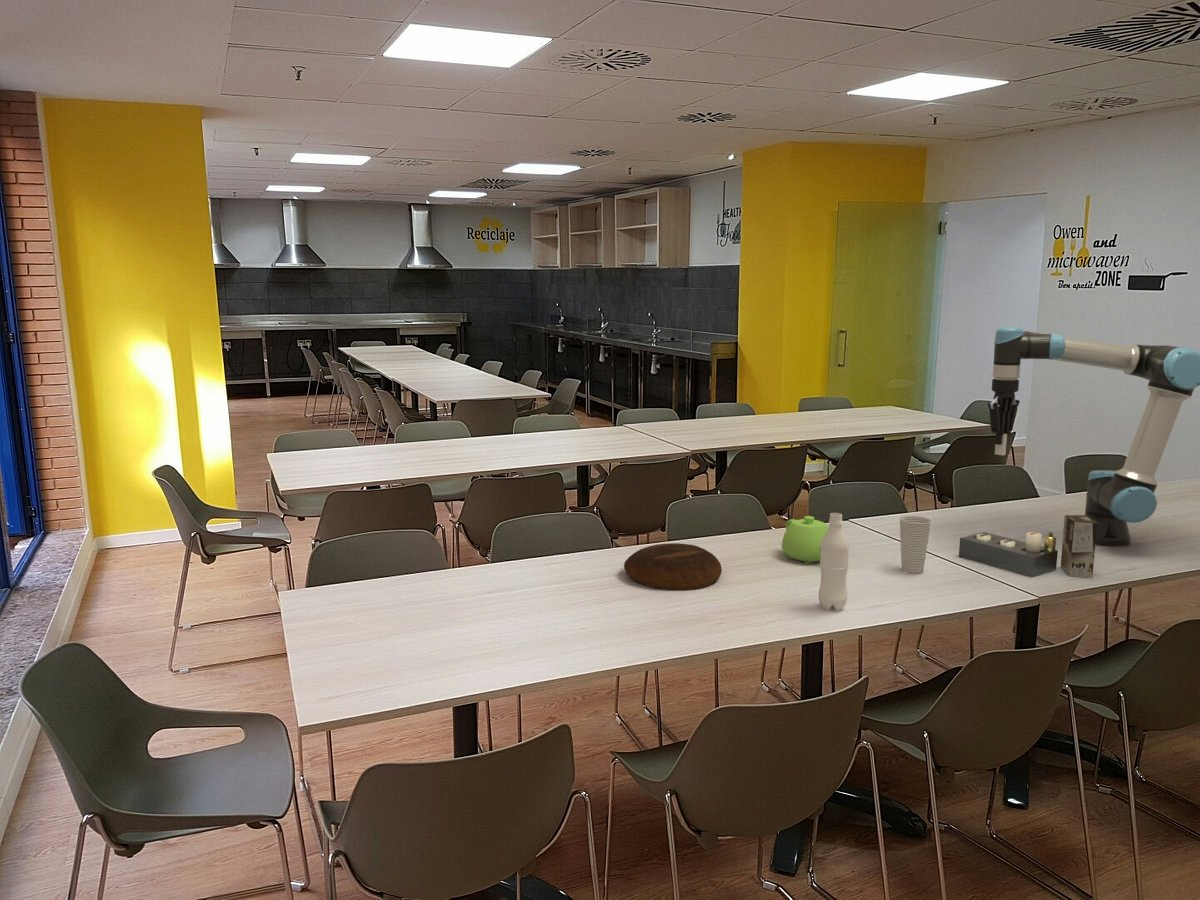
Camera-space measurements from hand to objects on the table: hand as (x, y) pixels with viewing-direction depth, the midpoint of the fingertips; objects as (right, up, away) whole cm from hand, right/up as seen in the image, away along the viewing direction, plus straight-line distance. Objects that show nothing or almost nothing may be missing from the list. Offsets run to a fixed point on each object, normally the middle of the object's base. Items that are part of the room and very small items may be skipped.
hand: (1000, 454), depth 277 cm
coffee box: (+14, -34, -18) cm, 41 cm away
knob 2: (-2, -32, -9) cm, 34 cm away
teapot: (-60, -32, -3) cm, 68 cm away
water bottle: (-63, -40, -44) cm, 87 cm away
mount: (-2, -33, -9) cm, 34 cm away
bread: (-103, -35, -17) cm, 110 cm away
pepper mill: (+7, -28, -17) cm, 33 cm away
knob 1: (-7, -31, -2) cm, 32 cm away
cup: (-33, -34, -15) cm, 50 cm away
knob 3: (+2, -29, -16) cm, 34 cm away
